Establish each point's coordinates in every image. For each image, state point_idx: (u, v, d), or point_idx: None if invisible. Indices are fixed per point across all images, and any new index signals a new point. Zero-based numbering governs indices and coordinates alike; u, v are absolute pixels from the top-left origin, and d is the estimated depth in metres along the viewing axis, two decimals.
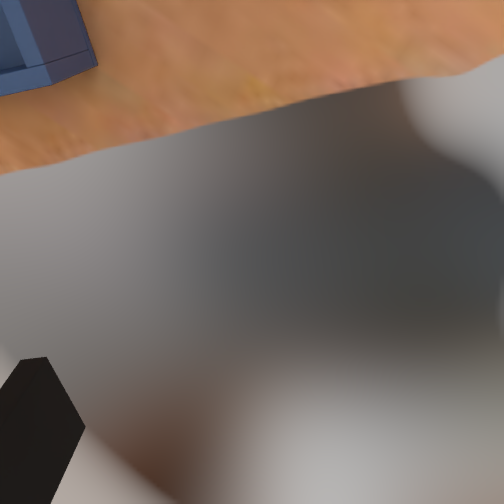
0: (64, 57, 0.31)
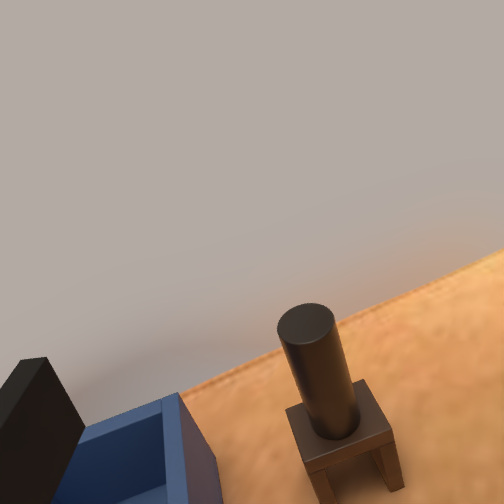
0: None
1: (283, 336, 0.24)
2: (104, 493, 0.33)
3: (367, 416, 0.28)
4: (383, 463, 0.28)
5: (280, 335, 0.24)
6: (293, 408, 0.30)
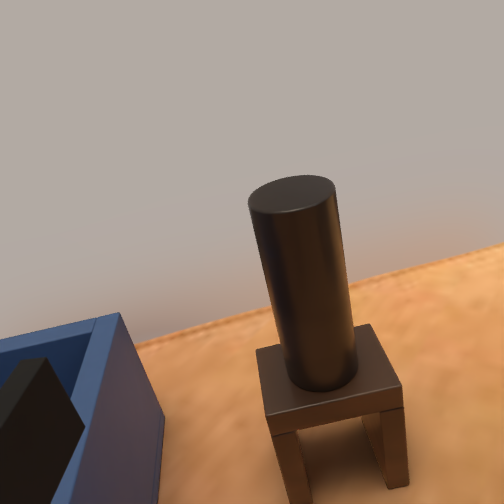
0: None
1: (254, 205, 0.16)
2: None
3: (368, 367, 0.19)
4: (383, 441, 0.20)
5: (250, 204, 0.16)
6: (267, 349, 0.21)
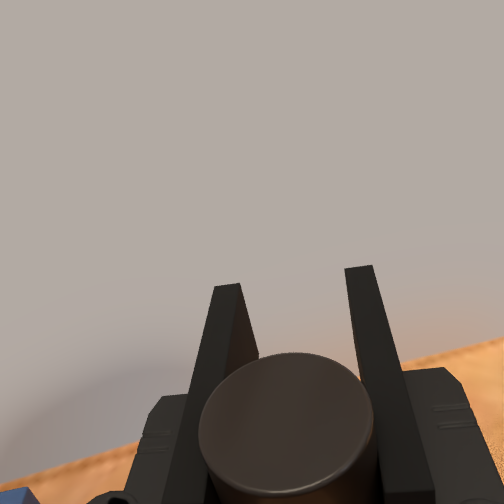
0: None
1: (208, 448, 0.08)
2: None
3: None
4: None
5: (201, 442, 0.08)
6: None
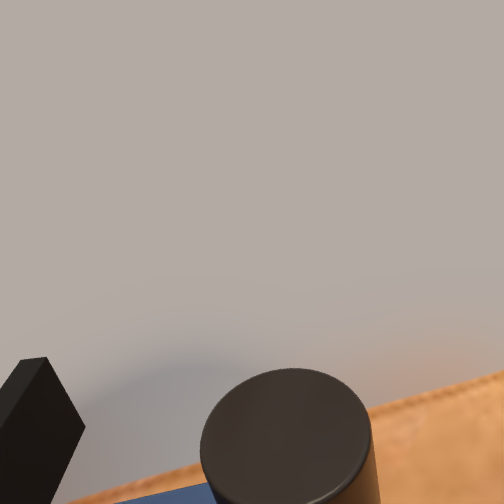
0: None
1: (210, 465, 0.08)
2: None
3: None
4: None
5: (203, 458, 0.08)
6: None
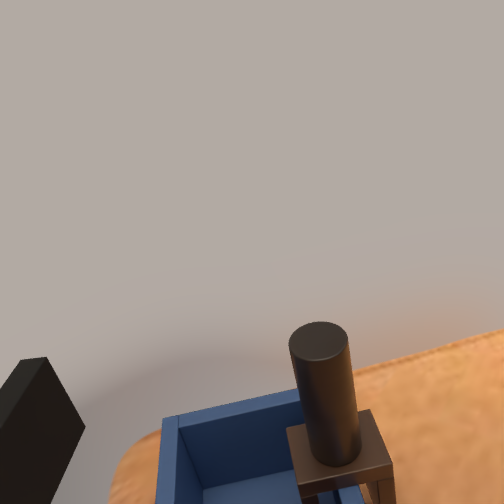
0: None
1: (293, 350, 0.23)
2: (236, 468, 0.35)
3: (368, 447, 0.27)
4: (379, 499, 0.27)
5: (291, 349, 0.24)
6: (294, 428, 0.29)
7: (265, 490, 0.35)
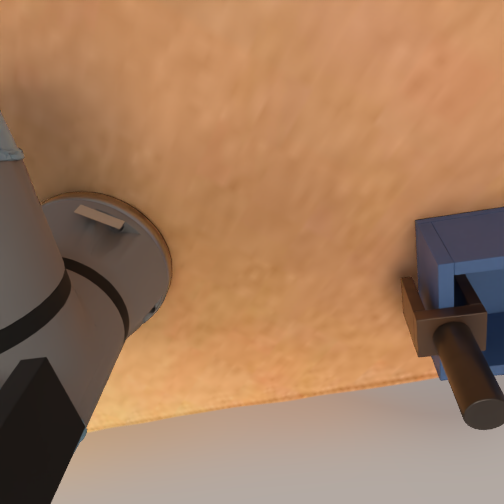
0: None
1: None
2: None
3: (428, 331, 0.38)
4: None
5: None
6: None
7: (483, 304, 0.46)
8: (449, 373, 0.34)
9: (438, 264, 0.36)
